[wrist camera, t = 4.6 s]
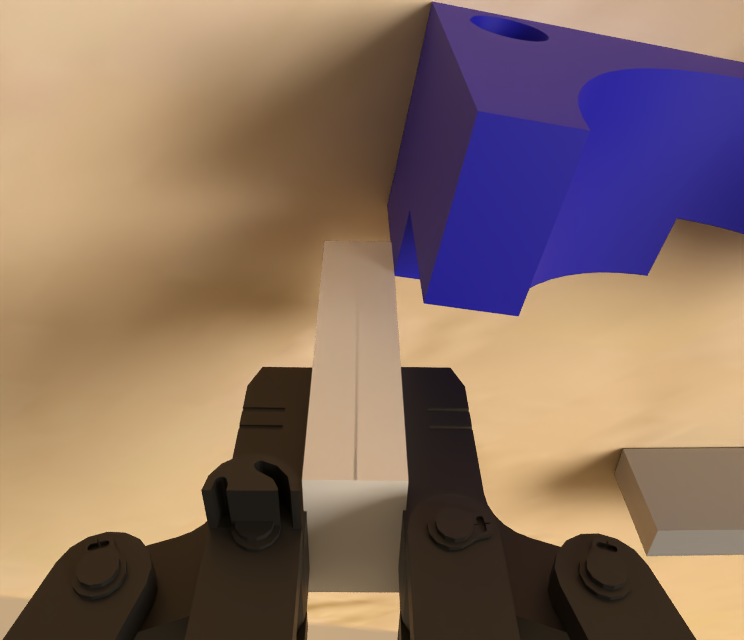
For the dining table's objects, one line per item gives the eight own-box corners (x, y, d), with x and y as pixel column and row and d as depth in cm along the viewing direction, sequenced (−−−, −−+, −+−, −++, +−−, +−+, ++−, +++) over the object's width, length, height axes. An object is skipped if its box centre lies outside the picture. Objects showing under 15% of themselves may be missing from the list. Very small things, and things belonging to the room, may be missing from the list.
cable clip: (387, 205, 16) (403, 376, 11) (432, 1, 13) (477, 111, 8) (843, 275, 17) (1029, 452, 13) (966, 105, 15) (1259, 248, 10)
